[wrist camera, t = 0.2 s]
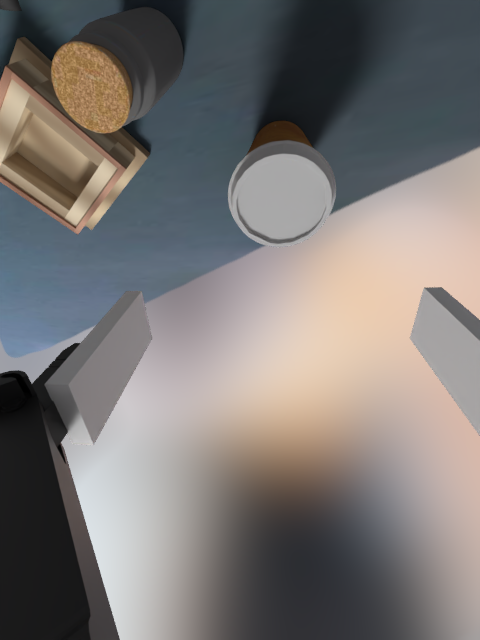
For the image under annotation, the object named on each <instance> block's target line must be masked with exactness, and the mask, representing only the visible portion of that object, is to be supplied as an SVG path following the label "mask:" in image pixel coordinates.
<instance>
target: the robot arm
mask: <svg viewBox="0 0 480 640" xmlns="http://www.w3.org/2000/svg"><path fill="white" fill-rule="evenodd" d="M410 339H411V341H412V342H413V343H414V345H415V346H416V348H417V349H418V350H419V352H420V353H421V355H422V356H423V357H424V359H425V360H426V362H427V363H428V364H429V366H430V367H431V368H432V370H433V371H434V372H435V374H436V376H437V377H438V378H439V380H440V381H441V383H442V384H443V385H444V387H445V388H446V389H447V391H448V392H449V394H450V395H451V396H452V398H453V399H454V401H455V402H456V403H457V405H458V406H459V408H460V409H461V410H462V412H463V413H464V414H465V416H466V417H467V419H468V420H469V422H470V423H471V424H472V426H473V427H474V429H475V430H476V431H477V433H478V434H479V435H480V320H479V319H478V318H477V317H476V316H474V315H473V314H472V313H471V312H470V311H469V310H467V309H466V308H465V307H464V306H463V305H462V304H460V303H459V302H458V301H457V300H456V299H454V298H453V297H452V296H451V295H450V294H449V293H448V292H446V291H445V290H444V289H443V288H441V287H440V288H424V290H423V293H422V297H421V300H420V304H419V308H418V311H417V315H416V318H415V322H414V325H413V329H412V333H411V336H410ZM151 340H152V335H151V331H150V326H149V322H148V318H147V313H146V309H145V304H144V299H143V295H142V291H126V292H125V293H124V294H123V296H122V297H121V298H120V299H119V300H118V301H117V302H116V304H115V305H114V306H113V307H112V308H111V309H110V310H109V312H108V313H107V314H106V315H105V316H104V317H103V318H102V319H101V321H100V322H99V323H98V324H97V325H96V326H95V327H94V329H93V330H92V331H91V332H90V333H89V334H88V336H87V337H86V338H85V339H84V340H83V341H82V342H81V343H74V344H73V345H71V346H70V347H68V348H67V349H65V350H63V351H62V352H61V353H60V355H59V356H58V357H57V358H56V359H55V361H53V362H52V363H51V364H50V366H49V368H47V369H46V370H45V371H44V372H43V373H42V374H41V375H40V376H39V377H38V378H37V379H36V380H35V381H34V383H33V384H31V382H30V380H29V378H28V376H27V374H26V373H25V372H23V371H8V372H5V373H1V374H0V640H120V639H119V635H118V632H117V629H116V625H115V622H114V618H113V615H112V611H111V608H110V605H109V601H108V598H107V594H106V591H105V587H104V584H103V581H102V577H101V574H100V570H99V567H98V563H97V560H96V557H95V553H94V550H93V546H92V543H91V540H90V536H89V533H88V530H87V526H86V522H85V519H84V516H83V512H82V509H81V505H80V502H79V499H78V495H77V492H76V488H75V485H74V482H73V478H72V475H71V471H70V468H69V464H68V461H67V457H66V454H65V451H64V448H63V446H62V444H61V441H62V440H63V438H64V437H65V435H66V434H67V433H68V436H69V438H70V440H71V442H72V444H81V445H83V444H84V445H94V443H95V442H96V440H97V438H98V436H99V434H100V432H101V431H102V429H103V427H104V425H105V423H106V422H107V420H108V418H109V416H110V414H111V412H112V411H113V409H114V407H115V405H116V403H117V401H118V400H119V398H120V396H121V394H122V392H123V391H124V389H125V387H126V385H127V383H128V381H129V380H130V378H131V376H132V374H133V372H134V370H135V369H136V367H137V365H138V363H139V361H140V359H141V358H142V356H143V354H144V352H145V351H146V349H147V347H148V345H149V343H150V341H151Z"/></svg>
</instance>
